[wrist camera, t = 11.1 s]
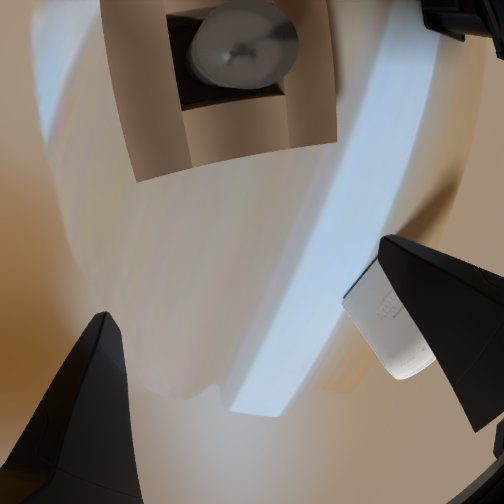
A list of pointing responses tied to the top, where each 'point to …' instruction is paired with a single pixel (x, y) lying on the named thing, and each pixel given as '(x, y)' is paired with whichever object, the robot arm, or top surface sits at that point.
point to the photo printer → (387, 325)
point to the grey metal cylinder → (243, 46)
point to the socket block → (215, 110)
